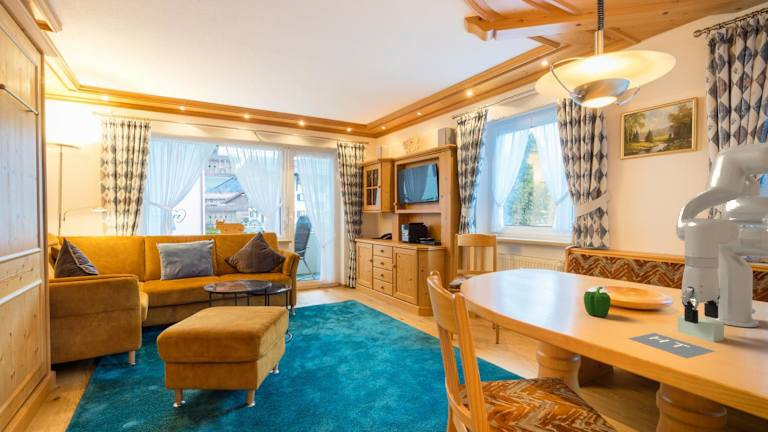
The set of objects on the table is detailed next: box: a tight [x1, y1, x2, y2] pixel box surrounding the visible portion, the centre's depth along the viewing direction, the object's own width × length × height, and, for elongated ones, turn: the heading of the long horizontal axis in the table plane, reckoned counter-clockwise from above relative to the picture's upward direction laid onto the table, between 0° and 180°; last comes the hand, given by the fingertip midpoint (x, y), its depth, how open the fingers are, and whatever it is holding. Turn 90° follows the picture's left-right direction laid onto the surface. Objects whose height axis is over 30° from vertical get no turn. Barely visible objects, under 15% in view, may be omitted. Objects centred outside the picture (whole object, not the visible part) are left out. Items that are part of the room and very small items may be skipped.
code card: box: [627, 332, 715, 359], centre depth 100 cm, size 12×15×1 cm
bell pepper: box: [583, 285, 612, 318], centre depth 127 cm, size 8×8×10 cm
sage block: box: [677, 314, 725, 343], centre depth 107 cm, size 5×9×5 cm, turn 22°
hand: (701, 319), depth 107 cm, fingers open, 9 cm apart
